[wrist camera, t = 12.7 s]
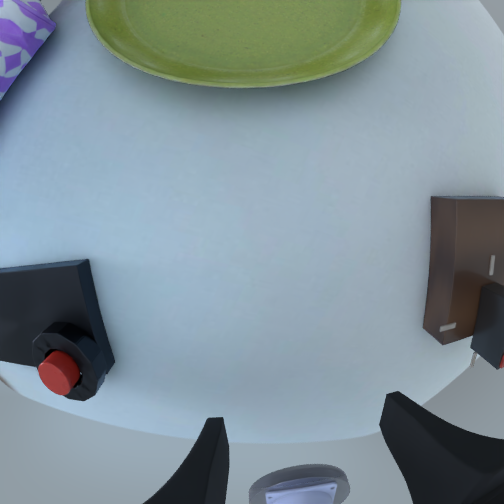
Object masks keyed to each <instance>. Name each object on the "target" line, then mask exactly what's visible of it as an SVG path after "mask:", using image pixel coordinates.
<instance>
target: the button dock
mask: <svg viewBox="0 0 504 504" xmlns="http://www.w3.org/2000/svg"><path fill="white" fill-rule="evenodd" d="M57 350H59V351H63V352H65V353H67V354H68V355H70V356H71V357H72V359H73V360H74V361H75V362H76V363H77V365H78V367H79V370H80V372H81V374H80V378H79V380H78V381H77V382H76V384H75V385H74V386H73V388H72V389H71V390H70V392H69V393H68V394H66V395H63V396H65V397H66V398H68V399H73V400H79V401H86V400H87V399H89V398H91V397H93V396H94V395H96V393H97V391H98V390H99V388H100V387H101V385H102V383H103V382H104V379H105V375H106V374H108V372H109V371H110V369H111V368H112V366H113V365H114V363H115V360H114V357H113V354H112V351H111V348H110V345H109V341H108V338H107V335H106V331H105V328H104V324H103V320H102V317H101V313H100V309H99V305H98V301H97V297H96V293H95V288H94V284H93V279H92V275H91V270H90V265H89V260H88V259H84V260H74V261H65V262H56V263H47V264H37V265H28V266H19V267H10V268H2V269H0V361H5V362H10V363H16V364H21V365H28V366H34V367H37V370H38V369H39V365H40V364H41V363H42V362H43V361H44V360H45V359H46V358H47V357H48V356H49V355H50V354H51V353H52V352H53V351H57Z"/></svg>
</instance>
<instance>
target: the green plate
mask: <svg viewBox="0 0 504 504" xmlns="http://www.w3.org/2000/svg"><path fill="white" fill-rule="evenodd" d="M85 6H86V15H87V19H88V22H89V25H90V27H91V29H92V31H93V33H94V35H95V36H96V38H97V39H98V40H99V41H100V42H101V44H102V45H103V46H104V47H105V48H106V49H107V50H108V51H109V52H110V53H111V54H113V55H114V56H115V57H117V58H118V59H120V60H121V61H123V62H124V63H126V64H128V65H130V66H132V67H134V68H136V69H138V70H141V71H143V72H146V73H148V74H151V75H154V76H157V77H160V78H164V79H168V80H172V81H176V82H181V83H186V84H192V85H198V86H207V87H219V88H264V87H276V86H285V85H292V84H298V83H303V82H309V81H312V80H316V79H321V78H324V77H328V76H330V75H333V74H336V73H339V72H342V71H344V70H347V69H349V68H351V67H353V66H355V65H357V64H359V63H360V62H362V61H364V60H365V59H367V58H368V57H370V56H371V55H373V54H374V53H375V52H376V51H377V50H379V49H380V48H381V47H382V46H383V45H384V44H385V42H386V41H387V40H388V38H389V37H390V36H391V34H392V33H393V31H394V29H395V27H396V25H397V22H398V20H399V15H400V9H401V0H85Z"/></svg>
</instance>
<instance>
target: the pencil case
mask: <svg viewBox="0 0 504 504" xmlns="http://www.w3.org/2000/svg"><path fill="white" fill-rule="evenodd" d="M55 26H56V23H55V22H53V21H52V20H50V18H49V16H48V14H47V12H46V10H45V9H44V7H43V5H42V4H41V2H40V1H39V0H0V100H1V99H2V97H3V96H4V94H5V93H6V91H7V90H8V89H9V87H10V86H11V84H12V83H13V82H14V80H15V79H16V77H17V76H18V75H19V73H20V72H21V71H22V69H23V68H24V67H25V66H26V64H27V63H28V62H29V61H30V59H31V58H32V57H33V55H34V54H35V53H36V51H37V50H38V49H39V47H40V46H41V45H42V44H43V43H44V42H45V41H46V39H47V37H48V36H49V35H50V34H51V33H52V31H53V30H55Z"/></svg>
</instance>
